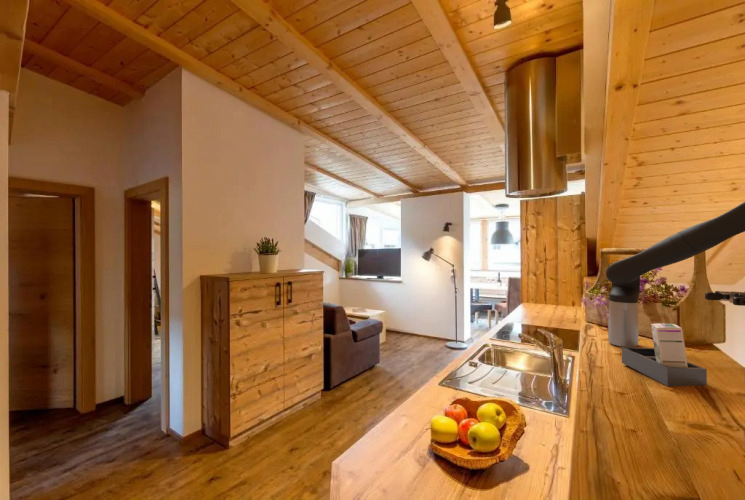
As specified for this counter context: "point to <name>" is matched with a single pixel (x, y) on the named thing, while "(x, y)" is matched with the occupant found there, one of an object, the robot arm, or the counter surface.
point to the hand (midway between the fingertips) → (719, 298)
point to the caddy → (663, 368)
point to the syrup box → (669, 345)
